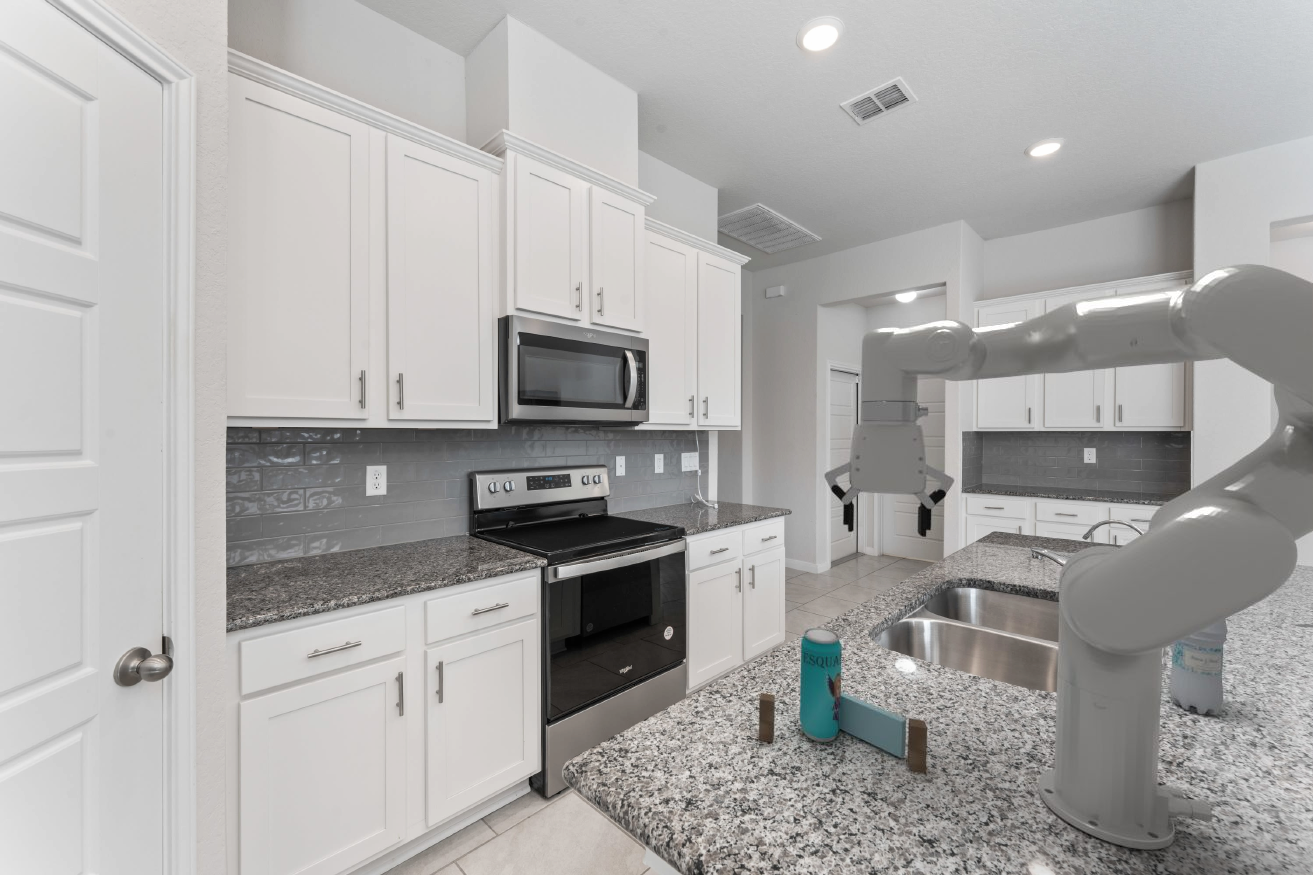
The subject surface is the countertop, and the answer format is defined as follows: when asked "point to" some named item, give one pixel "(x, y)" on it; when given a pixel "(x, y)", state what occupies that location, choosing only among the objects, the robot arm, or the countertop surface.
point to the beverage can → (820, 684)
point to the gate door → (873, 724)
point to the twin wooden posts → (915, 733)
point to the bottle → (1199, 670)
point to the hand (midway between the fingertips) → (885, 532)
